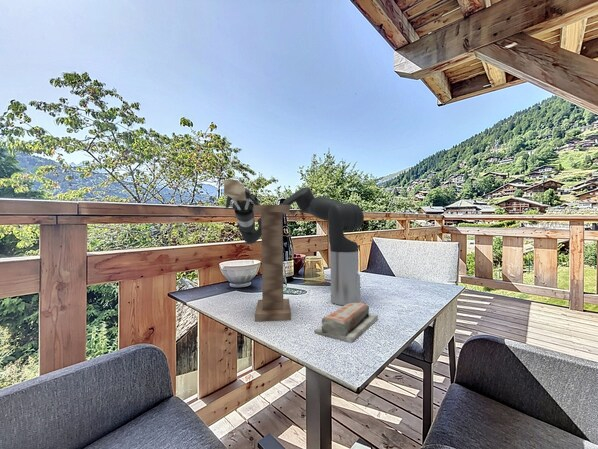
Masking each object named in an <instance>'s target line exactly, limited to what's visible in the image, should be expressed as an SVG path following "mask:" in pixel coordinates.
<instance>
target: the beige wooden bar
mask: <svg viewBox="0 0 598 449" xmlns="http://www.w3.org/2000/svg"><path fill="white" fill-rule="evenodd" d="M245 188H246V187H245V186H244V185H243V184H242V183H241V182H240V181H239V180H237V179H234V180H233V179H229V180H228V179H224V180H223V194H224V195H226V196H227V197H228V196H229V197H231V198H233V199H235V200H237V201H246V200H247V198H246V194H245Z"/></svg>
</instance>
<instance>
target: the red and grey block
mask: <svg viewBox="0 0 598 449" xmlns="http://www.w3.org/2000/svg"><path fill="white" fill-rule="evenodd" d="M377 320H378V314H376V313H375V314H374V313H370V307H369V304H367V303H364V302H361V301H360V302H359V303H349V304H346V305H342V306H341V307H339V308H337V309H336V310H334V311H332V312H330V313H329V314H327V315H325V316H323V317H322V319H321V326H319V327H317V328H316V329H314V334H317V335H320V336H323V337H327V338H331V339H335V340H338V341H343V342H347V343H349V344H351V343H353V342H354V341H356V339H357V338H358V337H360V336H361V335H362V334H363V333H365V332H366V331H367V330H368V329H369V328H370V327H371V326H372V325H373V324H374V323H375V322H377Z"/></svg>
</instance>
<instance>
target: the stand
mask: <svg viewBox="0 0 598 449" xmlns="http://www.w3.org/2000/svg"><path fill="white" fill-rule="evenodd" d="M290 207H291V205H280V204H260V205H253V212H254V214H257V215H261V222H262V236H261V273H262V274H261V284H262V286H261V289H262V290H261V292H262V297H261V298H262V299H258V300H257V303H256V307H255V310H254V322H274V321H275V322H276V321H277V322H279V321H292V312H291V304H290V299H289V298H284V247H283V246H284V243H283V242H284V238H283V237H284V233H283V232H284V231H283V228H284V227H283V218H282V214H285V215H288V214H290V212H291V208H290Z"/></svg>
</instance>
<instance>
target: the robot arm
mask: <svg viewBox="0 0 598 449" xmlns="http://www.w3.org/2000/svg"><path fill="white" fill-rule="evenodd" d="M250 192H251V190H250V189H248V187H245V194H246V198H247V200H246V201H237V200H235V199H233V198H231V197H229V196H227V198H226V201H225V208H226V209H228V208H229V207H230V208H232V209H233V210H234V214H235V218H236V220H237V222H238V231H239V233H240V235H241V236H242V238H243V240H244V242H245V243H246V244H247V245H252V244H255V243H256V242H257V241H259V239H260V238H262V222H261V217H259V218H258V219H257V224H258V227H257V229H256V228H255V227H256V220H255V213H254V212H253V205H261V202H260V200H259V198H258V197H257V196H256V195H255V194H254V193H253V194H251V193H250ZM232 202H233V203H232ZM294 203H295V204H296V206H297V207H298V209H299V210H300V211H301V213H304V214H310V215H312V216H313V217H315V218H317V219H320V220H323V221H326V222H327V226H328V242H329V250H330V251H329V252H330V254H329V255H330V302H331V303H332V304H335V305H339V306H344V305H346V304H349V303H359V302H361V274H360V273H359V253H358V252H359V250H358V248H359V246H358V243H357V242H356V241H353V240H351V239H349V238H347V237H346V236H345V232H351V231H356V230H358V229H360V228H361V227H362V226H363V224H364V220H365V217H364V216H365V215H364V212H363V210H362V209H361V208H360V206H358V205H357V204H354V203H343V202H340V201H338V200H336V199H333V198H332V199H331V198H329V197H326V196H321V195H320V196H319V195H318V196H316V197H315V196H314V194H313V192H312V190H311V188H310V187H307V186H305V187H302V188H300V189H298V190H297V191H295V192H294V193H293V194H291V195H290V196H289V197H287V198H286V199H285V200H283V203H282V202H281V203H279V205H290V206H291V205H293V204H294ZM285 215H286V214H282V219H283V218H284V216H285Z"/></svg>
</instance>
